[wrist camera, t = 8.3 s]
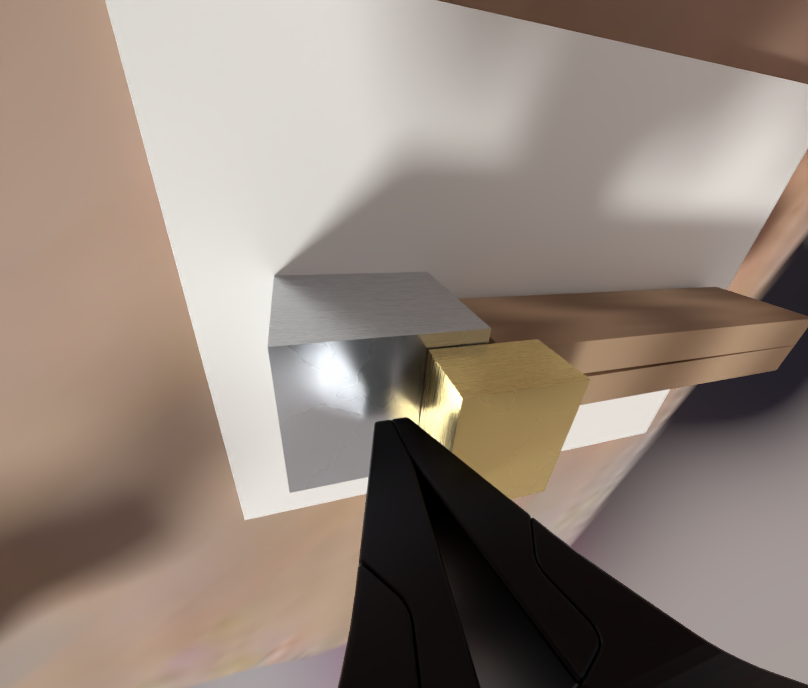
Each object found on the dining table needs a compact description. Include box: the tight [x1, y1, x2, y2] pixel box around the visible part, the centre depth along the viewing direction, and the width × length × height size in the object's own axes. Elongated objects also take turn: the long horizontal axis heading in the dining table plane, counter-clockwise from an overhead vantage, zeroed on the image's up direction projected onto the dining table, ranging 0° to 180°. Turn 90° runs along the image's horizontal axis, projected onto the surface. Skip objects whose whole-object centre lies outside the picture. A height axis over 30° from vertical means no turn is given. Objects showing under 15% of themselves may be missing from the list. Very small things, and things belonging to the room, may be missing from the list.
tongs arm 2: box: [459, 287, 808, 374], centre depth 13 cm, size 14×1×4 cm, turn 85°
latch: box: [419, 339, 591, 499], centre depth 8 cm, size 3×4×2 cm
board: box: [105, 0, 808, 520], centre depth 14 cm, size 18×24×1 cm
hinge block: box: [267, 272, 491, 493], centre depth 10 cm, size 5×4×4 cm
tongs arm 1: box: [580, 345, 794, 405], centre depth 13 cm, size 14×1×4 cm, turn 86°
